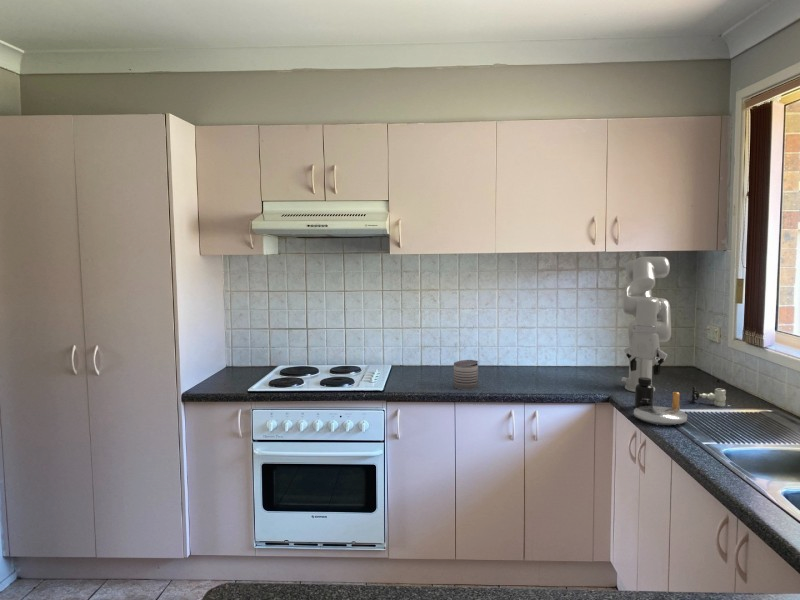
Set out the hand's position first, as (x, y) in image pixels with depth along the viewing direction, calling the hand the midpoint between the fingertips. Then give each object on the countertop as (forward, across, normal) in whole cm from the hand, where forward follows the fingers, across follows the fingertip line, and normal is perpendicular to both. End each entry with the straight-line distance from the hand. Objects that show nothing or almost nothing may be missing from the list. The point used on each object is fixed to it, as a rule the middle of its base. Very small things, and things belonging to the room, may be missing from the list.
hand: (644, 372), depth 223 cm
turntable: (+14, +12, -7) cm, 19 cm away
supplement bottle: (+15, 0, +1) cm, 15 cm away
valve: (+14, +13, +26) cm, 32 cm away
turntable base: (+15, +12, -9) cm, 21 cm away
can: (+14, -70, -30) cm, 78 cm away
